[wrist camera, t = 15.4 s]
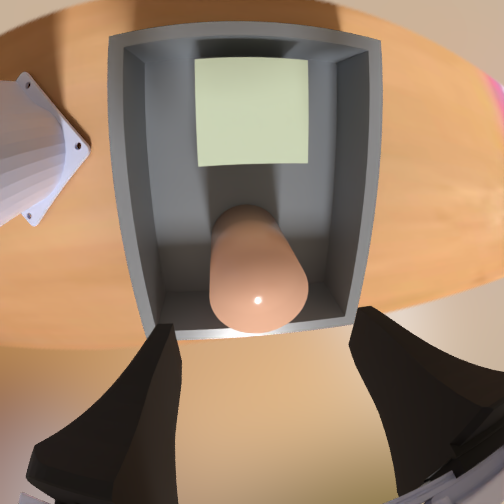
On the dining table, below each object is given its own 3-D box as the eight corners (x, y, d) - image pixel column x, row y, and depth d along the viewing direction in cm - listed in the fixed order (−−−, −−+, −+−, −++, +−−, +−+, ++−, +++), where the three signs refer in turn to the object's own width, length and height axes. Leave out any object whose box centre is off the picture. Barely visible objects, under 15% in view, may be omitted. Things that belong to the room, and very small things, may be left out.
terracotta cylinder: (239, 279, 21) (249, 346, 14) (197, 232, 19) (188, 290, 13) (291, 242, 20) (324, 298, 14) (252, 190, 18) (272, 229, 12)
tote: (135, 56, 14) (109, 36, 9) (343, 55, 15) (380, 40, 11) (158, 297, 21) (147, 340, 17) (329, 286, 23) (353, 324, 18)
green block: (203, 155, 17) (198, 166, 12) (201, 76, 15) (194, 59, 10) (284, 152, 17) (307, 163, 13) (283, 76, 15) (307, 60, 11)
